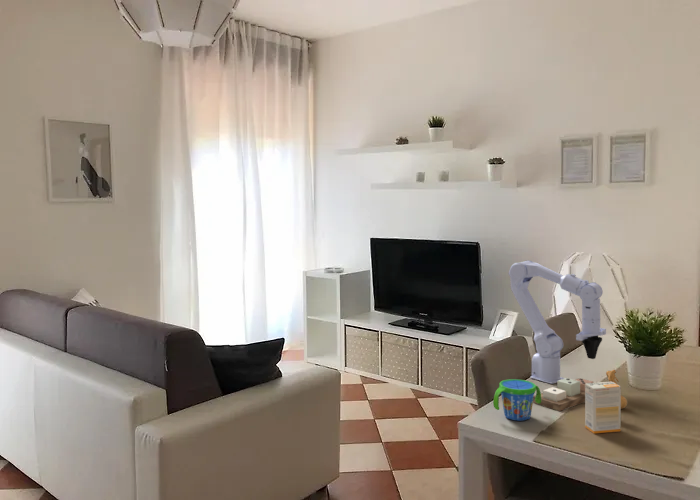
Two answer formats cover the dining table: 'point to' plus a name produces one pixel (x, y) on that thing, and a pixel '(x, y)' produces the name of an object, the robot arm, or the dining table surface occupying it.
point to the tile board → (562, 401)
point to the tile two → (569, 386)
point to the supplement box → (602, 407)
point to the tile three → (583, 383)
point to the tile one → (554, 394)
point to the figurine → (612, 379)
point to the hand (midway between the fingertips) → (591, 358)
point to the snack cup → (517, 398)
